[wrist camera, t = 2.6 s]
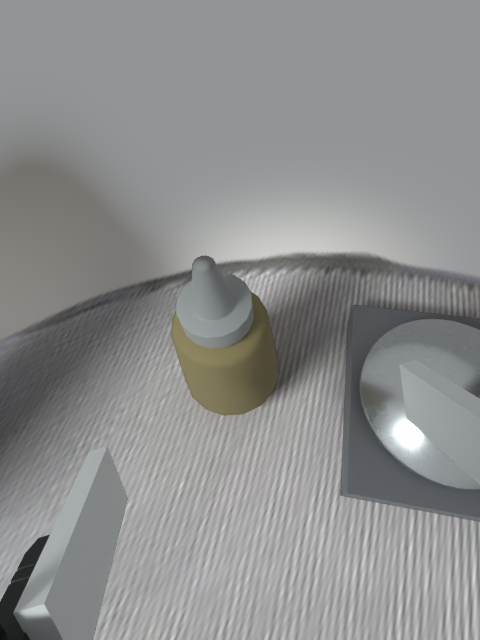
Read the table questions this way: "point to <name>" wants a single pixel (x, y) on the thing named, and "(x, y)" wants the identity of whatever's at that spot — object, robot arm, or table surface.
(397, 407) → the scale pan
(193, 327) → the squeeze bottle
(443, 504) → the scale base
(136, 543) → the table surface
